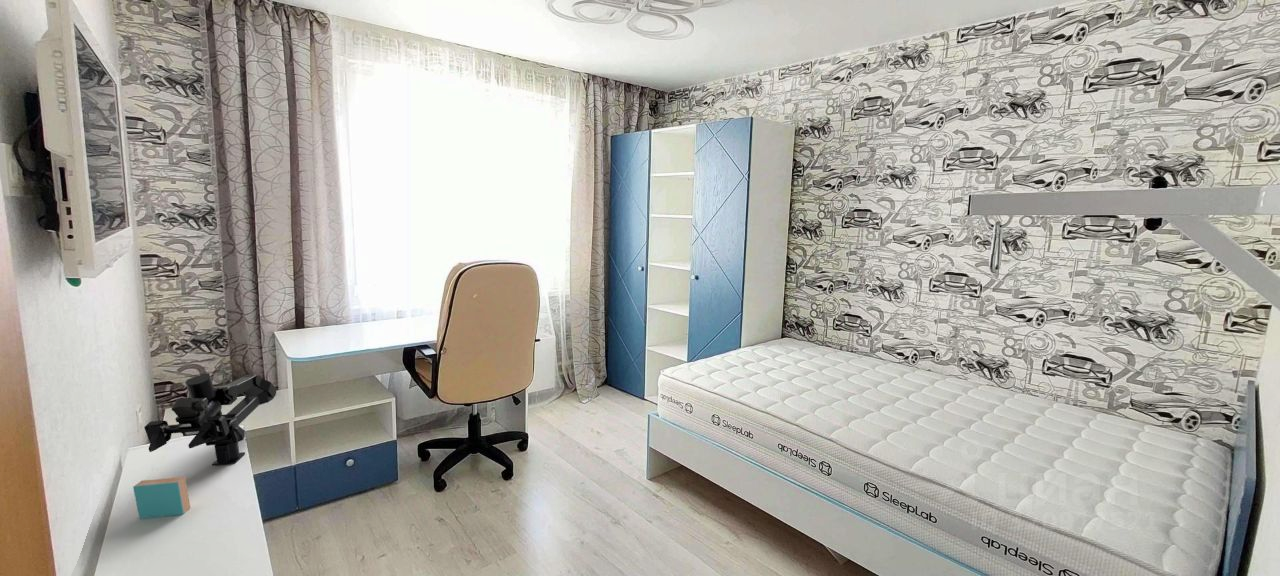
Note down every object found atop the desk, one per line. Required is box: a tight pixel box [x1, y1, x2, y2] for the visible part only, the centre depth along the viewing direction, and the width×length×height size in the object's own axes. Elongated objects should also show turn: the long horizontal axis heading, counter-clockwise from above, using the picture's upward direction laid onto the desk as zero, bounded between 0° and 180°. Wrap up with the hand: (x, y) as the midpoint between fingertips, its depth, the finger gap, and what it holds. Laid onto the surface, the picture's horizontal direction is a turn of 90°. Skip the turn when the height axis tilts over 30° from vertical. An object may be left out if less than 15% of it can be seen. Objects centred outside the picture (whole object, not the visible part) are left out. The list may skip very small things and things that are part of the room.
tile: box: [132, 476, 191, 519], centre depth 139 cm, size 3×10×9 cm, turn 100°
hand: (169, 448), depth 142 cm, fingers open, 9 cm apart
